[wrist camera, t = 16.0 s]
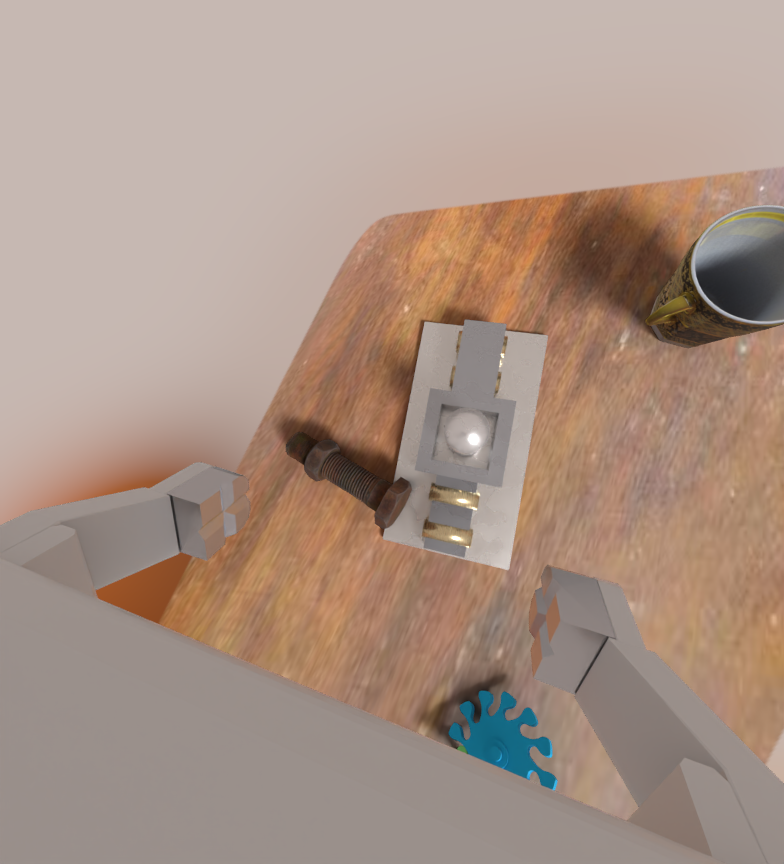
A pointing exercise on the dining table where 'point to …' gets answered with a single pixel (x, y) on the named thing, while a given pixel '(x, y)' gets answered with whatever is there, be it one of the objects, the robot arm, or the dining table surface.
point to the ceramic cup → (726, 281)
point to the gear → (503, 738)
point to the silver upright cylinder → (466, 431)
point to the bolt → (350, 477)
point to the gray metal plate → (485, 470)
